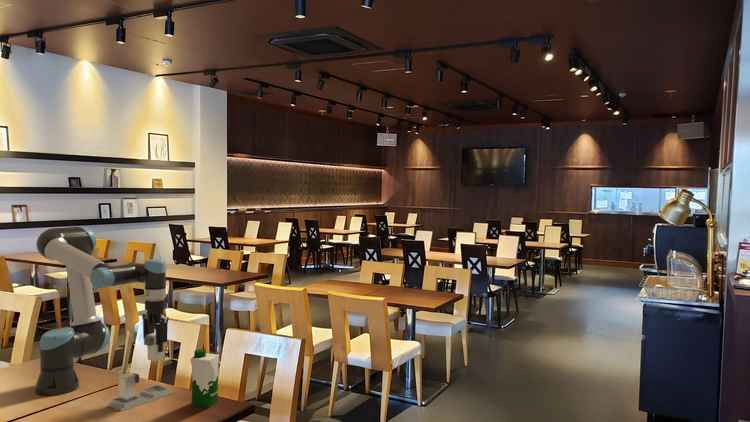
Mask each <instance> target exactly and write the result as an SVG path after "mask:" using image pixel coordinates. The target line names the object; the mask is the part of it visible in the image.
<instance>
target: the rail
mask: <svg viewBox="0 0 750 422" xmlns="http://www.w3.org/2000/svg"><path fill="white" fill-rule="evenodd" d="M139 383H140V374H139V373H135V372H133V373H130V372H128V373H124V374H123V373H122V374H120V375H118V396H117V397H114V398H112V399H110V400H111V401H110V403H107V407H109V408H112V409H114V410H117V411H119V412H123V411H125V410H128V409H131V408H134V407H137V406H139V405H143V404H145V403H149V402H151V401H154V400H157V399H160V398H163V397H166V396H169V395H171V393H172V394H173V390H171V389H170V387H168V386H164V385H161V384H154V385H151V386H149V387H145V388H142V389H140V391H139V392H138V393H136V384H139ZM168 394H169V395H168Z"/></svg>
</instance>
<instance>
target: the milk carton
mask: <svg viewBox="0 0 750 422" xmlns="http://www.w3.org/2000/svg"><path fill="white" fill-rule="evenodd" d="M193 355H194V356H193V357H191V358H190V364H191V407H195V406H198V407H197V408H205V407H206V408H207V409H210V407H212V406H213V405H215V404H216V403H217V402H218V401H219V400H218V399H219V361H220V354H215V353H206V349H203V348H202V349H199V348H198V349H195V350H194V351H193ZM214 403H215V404H214Z"/></svg>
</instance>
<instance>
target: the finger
mask: <svg viewBox="0 0 750 422" xmlns="http://www.w3.org/2000/svg"><path fill="white" fill-rule="evenodd" d="M155 343H157V340H156V332H154V333H152V334H148V336H147V335H146V337H144V338H143V346H146V347H147V346H148V349H147V360H148V361H150V362H155V363H156V361H155ZM158 361H160V360H158ZM158 361H157V362H158Z"/></svg>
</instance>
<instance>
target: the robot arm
mask: <svg viewBox="0 0 750 422" xmlns="http://www.w3.org/2000/svg"><path fill="white" fill-rule="evenodd" d="M35 243H36V249H37V252H38V253H39V254H40V255H41V256H42V257H44V258H45V259H46V260H49V261H56V262H59V263H60V264H62V265H64V266H65V267H66V273H67V281H68V288H69V294H70V295H69V296H70V303H71V310H72V316H73V321H72V322H71V324H70V325H69V326H70V327H69V326H65V327H57V328H54V329H50V330H48V331H46V332H45V333H43V334H42V335H41V338H40V340H39V341H40V344H39V348H40V349H39V350H40V354H39V355H40V356H39V357H40V358H39V359H40V361H39V362H40V365H39V366H40V368H39V369H40V370H39V371H40V373H39V375H38V378H37V381H36V383H35V388H34V389H35V394H37V395H40V396H57V395H62V394H67V393H70V392H72V391H73V392H74V391H75V390H77V389H78V388H79V387H80V380H79V378H78V374H77V372H76V369H75V359H78V358H81V357H86V356H88V355H92V354H93V355H94V354H97V353H98V352H101V351H103V350H104V349H105V348H106V347H107V345H109V341H110V337H111V336H110V334H111V333H110V330H109V327H108V326H107V325H106V324H105V323H102V319H101V318H100V317H98V315H97V310H96V304H95V295H94V290H93V289H94V288H95V289H107V288H111V287H117V286H123V285H129V284H134V283H135V284H136V283H138V284H139V283H141V284H144V299H145V300H144V310H145V311H146V312H145V313H142V314H141V317H142V332H143V333H142V335H143V336H142V337H143V339H144V337H146V336H148V334H152V333H156V340H157V343H155V362H158V360H159V361H161V360H164V343H167V342H168V328H169V327H168V324H169V323H168V322H169V320H170V319H169V317H168V316H167V317H166V316H165V313H164V311H165V309H166V297H167V296H166V295H167V294H166V293H167V292H166V274H167V273H166V272H167V269H166V261H165V260H164V259H161V258H160V259H157V258H154V259H152V258H150V259H146V260H145V261H144V263H140V262H139V263H138V262H135V261H134V262H126V263H124V264H120V265H110V264H108V263H105V262H104V261H102V260H100V259H97V258H95V257H94V256H93V252H94V251H95V249H96V247H97V238H96V235H95V234H94V232H93V230H91V229H90V228H89V227H86V226H64V227H52V228H48V229H45V230H44V231H43V232H41V233H40V235H39V236H38V237H37V240H36V242H35ZM146 348H147V350H148V346H147V345H146Z"/></svg>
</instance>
